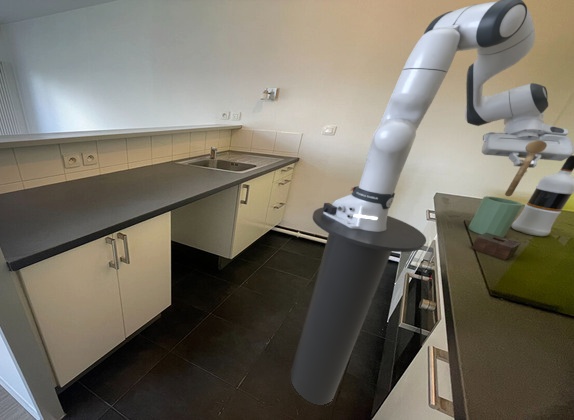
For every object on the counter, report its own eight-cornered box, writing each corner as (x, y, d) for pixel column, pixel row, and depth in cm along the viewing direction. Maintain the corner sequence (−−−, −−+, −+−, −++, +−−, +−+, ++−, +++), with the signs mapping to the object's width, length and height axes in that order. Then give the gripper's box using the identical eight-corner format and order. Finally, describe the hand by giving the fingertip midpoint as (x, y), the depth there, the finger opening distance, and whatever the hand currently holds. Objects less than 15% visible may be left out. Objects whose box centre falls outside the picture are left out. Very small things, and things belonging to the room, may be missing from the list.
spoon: (500, 195, 88) (531, 140, 79) (498, 194, 89) (529, 139, 81) (516, 197, 86) (550, 141, 78) (514, 196, 87) (547, 140, 79)
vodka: (508, 229, 97) (553, 154, 86) (511, 224, 102) (553, 152, 91) (546, 239, 90) (600, 158, 79) (547, 233, 95) (598, 156, 84)
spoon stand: (471, 248, 82) (477, 236, 80) (480, 243, 85) (486, 232, 83) (505, 260, 75) (512, 247, 74) (513, 255, 79) (521, 242, 77)
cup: (464, 228, 96) (479, 198, 91) (473, 225, 100) (489, 195, 95) (498, 239, 89) (517, 206, 84) (507, 235, 93) (526, 203, 88)
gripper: (488, 126, 89) (488, 156, 85) (576, 130, 80) (580, 164, 75) (477, 138, 94) (476, 167, 90) (558, 142, 85) (561, 175, 81)
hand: (525, 166), depth 83 cm, fingers closed on spoon, 1 cm apart
